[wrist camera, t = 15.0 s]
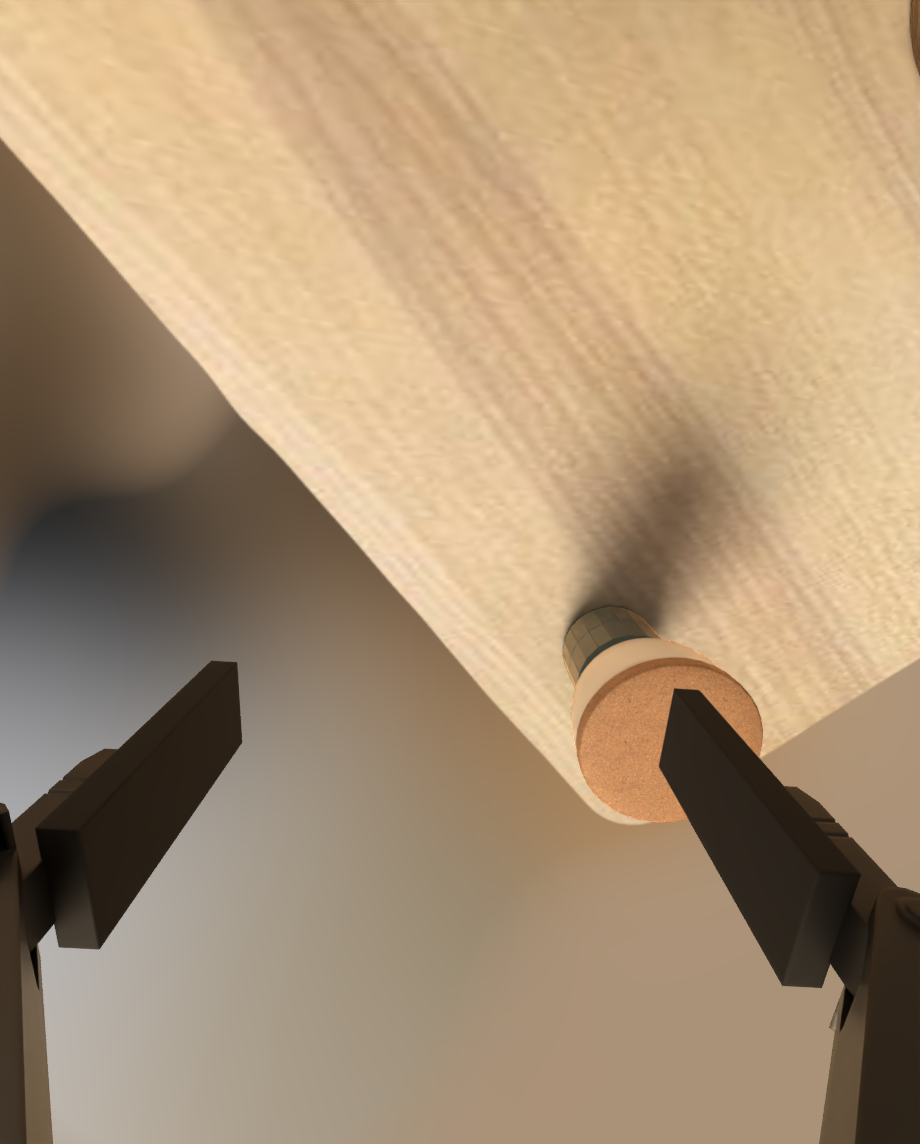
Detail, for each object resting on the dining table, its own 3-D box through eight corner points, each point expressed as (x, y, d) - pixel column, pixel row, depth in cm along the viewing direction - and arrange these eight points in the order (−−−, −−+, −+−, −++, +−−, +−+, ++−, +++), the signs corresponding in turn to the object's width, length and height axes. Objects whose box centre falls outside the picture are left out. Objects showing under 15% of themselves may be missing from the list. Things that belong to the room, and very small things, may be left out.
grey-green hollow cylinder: (658, 606, 43) (691, 638, 37) (643, 689, 45) (672, 732, 39) (567, 601, 43) (584, 631, 37) (556, 684, 45) (571, 726, 39)
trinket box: (698, 745, 39) (768, 842, 30) (555, 750, 39) (582, 847, 30) (711, 611, 36) (794, 675, 27) (557, 617, 36) (587, 682, 27)
